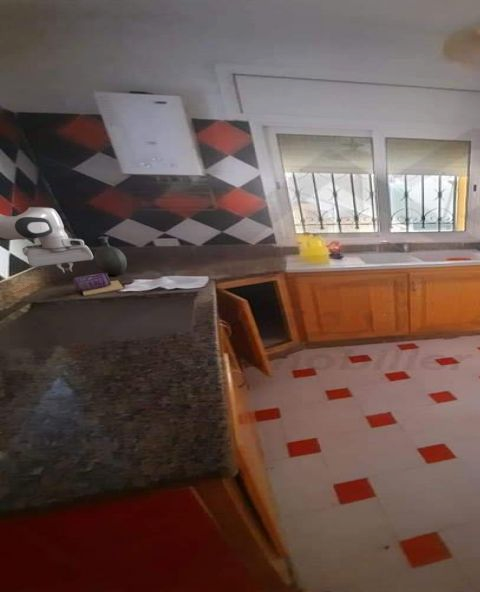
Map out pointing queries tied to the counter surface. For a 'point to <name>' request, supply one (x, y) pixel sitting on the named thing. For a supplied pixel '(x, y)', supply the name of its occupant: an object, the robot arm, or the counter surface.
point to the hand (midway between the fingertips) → (68, 272)
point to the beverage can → (91, 282)
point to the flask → (110, 258)
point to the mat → (105, 288)
